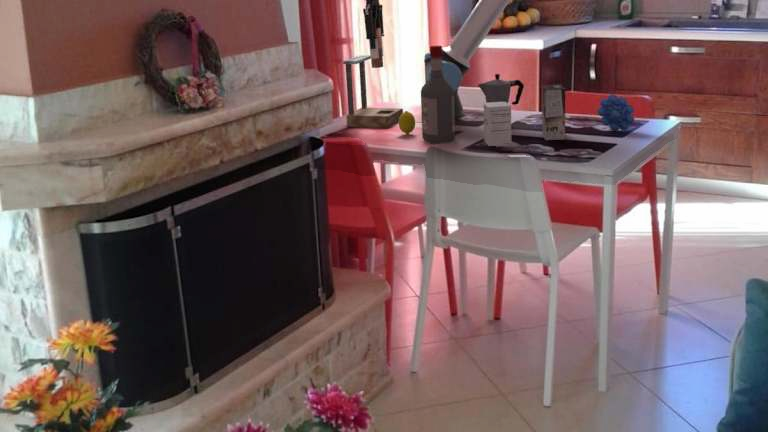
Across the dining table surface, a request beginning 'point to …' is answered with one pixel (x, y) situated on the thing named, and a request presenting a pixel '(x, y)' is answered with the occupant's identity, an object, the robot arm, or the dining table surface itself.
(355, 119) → the socket awning
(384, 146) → the dining table surface
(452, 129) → the liquor
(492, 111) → the supplement box
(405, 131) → the lemon
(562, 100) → the coffee box
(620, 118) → the blue flower
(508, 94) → the coffeepot
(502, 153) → the dining table surface
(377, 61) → the peg
